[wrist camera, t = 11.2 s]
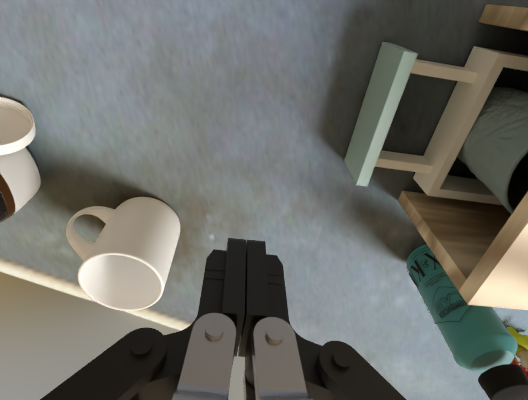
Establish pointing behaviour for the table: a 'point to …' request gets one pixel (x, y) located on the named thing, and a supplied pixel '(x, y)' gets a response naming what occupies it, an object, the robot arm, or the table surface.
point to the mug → (127, 253)
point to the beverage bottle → (469, 330)
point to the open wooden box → (479, 226)
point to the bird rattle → (520, 350)
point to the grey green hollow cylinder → (500, 146)
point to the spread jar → (16, 158)
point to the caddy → (447, 131)
